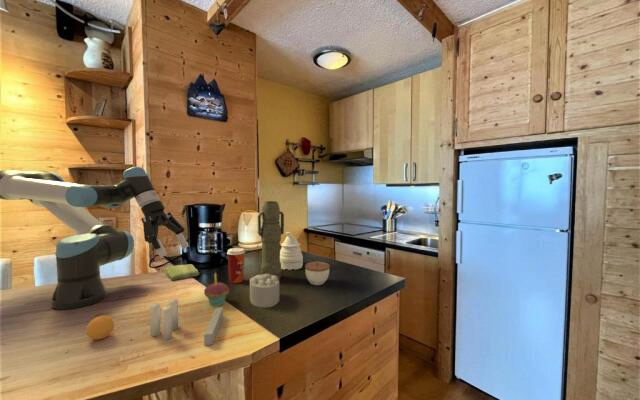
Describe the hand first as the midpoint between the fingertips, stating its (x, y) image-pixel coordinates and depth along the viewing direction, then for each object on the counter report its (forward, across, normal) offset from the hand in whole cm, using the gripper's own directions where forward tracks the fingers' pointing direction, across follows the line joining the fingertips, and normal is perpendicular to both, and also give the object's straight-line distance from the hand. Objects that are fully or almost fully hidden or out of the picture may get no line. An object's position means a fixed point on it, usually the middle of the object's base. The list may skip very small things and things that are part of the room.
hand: (175, 251), depth 109 cm
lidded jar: (+40, +18, -40) cm, 59 cm away
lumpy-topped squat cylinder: (+32, -3, -25) cm, 41 cm away
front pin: (+21, -30, -4) cm, 36 cm away
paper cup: (+23, +14, -9) cm, 28 cm away
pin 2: (+22, -26, -7) cm, 35 cm away
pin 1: (+23, -31, -8) cm, 39 cm away
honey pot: (+32, +40, -25) cm, 57 cm away
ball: (+12, -34, +6) cm, 36 cm away
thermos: (+30, +20, -21) cm, 41 cm away
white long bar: (+28, -25, -18) cm, 42 cm away
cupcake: (+24, -8, -11) cm, 28 cm away
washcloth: (+9, +20, +18) cm, 28 cm away
